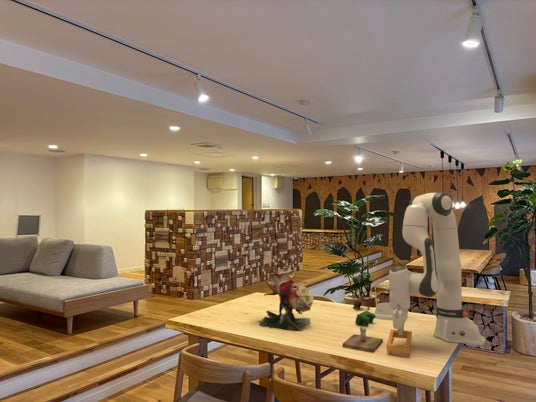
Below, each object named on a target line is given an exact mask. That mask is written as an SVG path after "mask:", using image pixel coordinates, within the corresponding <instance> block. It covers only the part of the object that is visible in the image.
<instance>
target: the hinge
mask: <svg viewBox="0 0 536 402" xmlns="http://www.w3.org/2000/svg"><path fill="white" fill-rule="evenodd" d="M374 314H375V315H376V316H375V318H374V319H373V320H384V321H385V320H386V321H392V322H393V308H392V307H390V302H380V303H377V304H376V306H375V309H374Z"/></svg>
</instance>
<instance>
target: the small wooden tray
mask: <svg viewBox="0 0 536 402" xmlns="http://www.w3.org/2000/svg"><path fill="white" fill-rule="evenodd" d="M412 332H413V331H412V330H411V331H410V330H404V331H403V335H398V329H391V328H390V331H389V335H388V338H387V341H386V345H385V346H386V352H388V353H397V354H404V355H410V351H411V346H412V341H413V333H412ZM397 338H398V339H406V340H405V344H398V343H397V344H396V343H394V340H395V339H397Z"/></svg>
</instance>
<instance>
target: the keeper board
mask: <svg viewBox="0 0 536 402" xmlns="http://www.w3.org/2000/svg"><path fill="white" fill-rule="evenodd" d="M359 330H360V331H359V332H360V333H359V334H355V333H353V334H352V335H351V336H350V337H348V338H347V339H346V340H345V341H344V342H343V343H342V348H344V349H345V348H347V349H351V350H352V349H353V350H357V351H363V352H367V353H373V354H374V353H375V352H376V351H377V349H378V348H379V347H380V346H381V345H382V344H383V342H384V338H379V337H373V336H368V335H366V332H367V327H366V326H363V325H362V326H361V327H360V328H359Z"/></svg>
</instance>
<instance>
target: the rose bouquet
mask: <svg viewBox="0 0 536 402" xmlns="http://www.w3.org/2000/svg"><path fill="white" fill-rule="evenodd" d="M270 278H271V280H267V281H265V284H266V285H268V287H269V289H270V290H271V291H272V293H265V294H263V296H264V297H265V296H276V295H278V297H279V308H278V309H279V310H278V311H279V312H278V313H279V314H277V313H274V312H272V311H270V310H266V312H265V313H266V314H267V316H265V317H263V319H261V320H260V321H259V326H260V327H262V328H268V329H269V328H270V329H275V330H276V329H277V330H279V329H281V330H282V329H284V330H287V331H297V330H299V331H303V329H304V330H306V328H305V326H309V325H310V324H311V318H310V317H308V318H307V317H295V314H294V312H293V310H295V311H296V312H297V314H298V315H299V314H300V315H301V316H303V313H305V312H308V311H311V307H312V305H313V302H314V298H315V296H314V295H312V294H311V292H310V290H309V289H308V288H307V287H306V286H303V285H301V284H299V283H298V284H297V283H295V280H296V278H295V271H294V270H292V268H291V267H284V268H283V267H282V269H279V270H278V271H277V272H276V271H273V272H272V273H271V274H270ZM283 310H284V312H285V313H282V311H283Z"/></svg>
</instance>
